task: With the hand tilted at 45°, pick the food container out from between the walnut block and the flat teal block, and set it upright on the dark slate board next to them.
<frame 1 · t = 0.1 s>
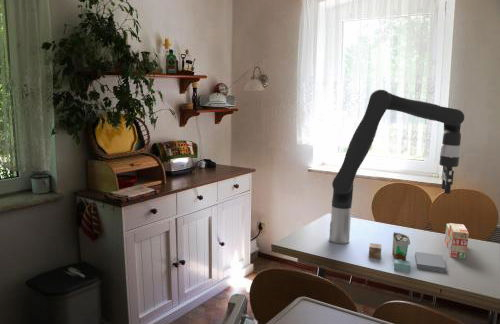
hand: (445, 191, 183), 29 cm above the table, tool pointing down, fingers open, 8 cm apart
slate board: (429, 263, 176), on the table
food container: (400, 259, 181), on the table
stack of blocks: (454, 250, 193), on the table
walnut block: (374, 256, 183), on the table
teal block: (401, 269, 171), on the table
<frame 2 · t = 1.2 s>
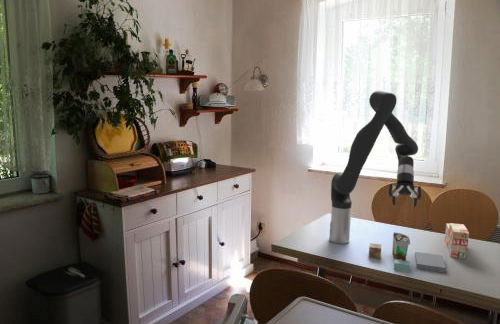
hand: (404, 205, 189), 21 cm above the table, tool tilted 45°, fingers open, 8 cm apart
nothing on the table moved.
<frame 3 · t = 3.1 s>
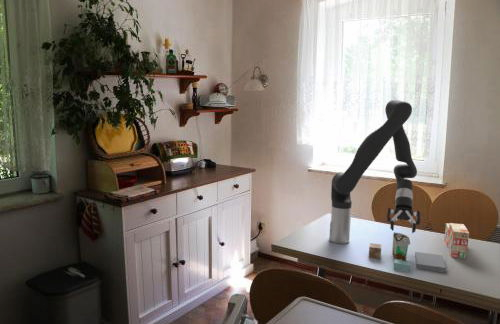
hand: (402, 231, 185), 11 cm above the table, tool tilted 45°, fingers open, 8 cm apart
nothing on the table moved.
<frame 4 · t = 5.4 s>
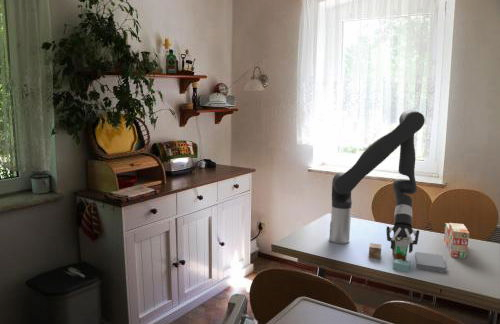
hand: (401, 250, 179), 4 cm above the table, tool tilted 45°, fingers closed on food container, 6 cm apart
food container: (400, 259, 181), on the table, touching gripper
everything else where it was.
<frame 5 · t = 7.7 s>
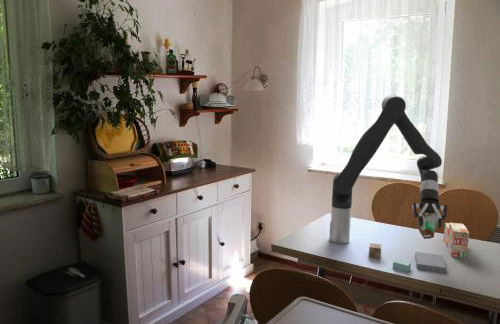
hand: (429, 226, 173), 17 cm above the table, tool tilted 45°, fingers closed on food container, 6 cm apart
food container: (428, 235, 175), point 12 cm above the table, touching gripper
everything else where it was.
when the fingers open (8 cm above the table, at t = 10.0 s): food container drops 1 cm, resting on slate board.
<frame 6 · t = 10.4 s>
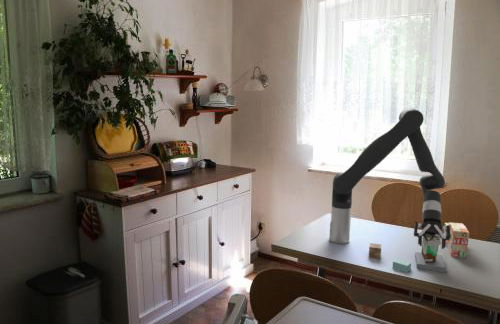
hand: (431, 246, 174), 8 cm above the table, tool tilted 45°, fingers open, 8 cm apart
food container: (430, 259, 176), point 2 cm above the table, touching slate board
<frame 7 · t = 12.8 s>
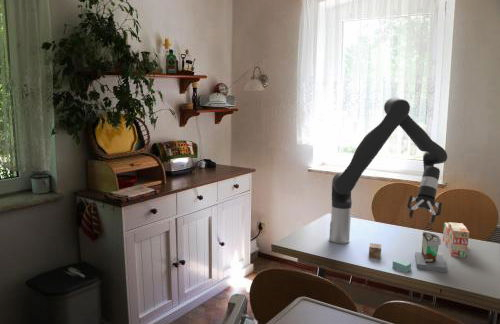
hand: (421, 221, 187), 15 cm above the table, tool tilted 35°, fingers open, 8 cm apart
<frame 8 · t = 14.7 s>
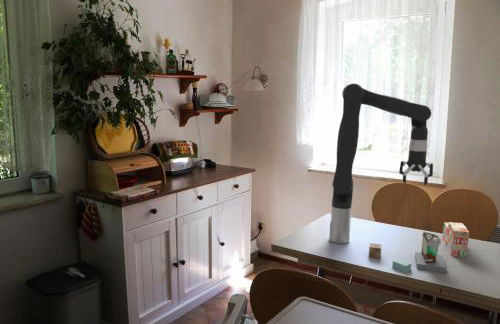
hand: (414, 184, 191), 30 cm above the table, tool pointing down, fingers open, 8 cm apart
at the end: food container inside the target area on the slate board (0.4 cm from its centre), point 1.8 cm above the slate board's base; food container tilted 0°; the gripper is holding nothing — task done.
